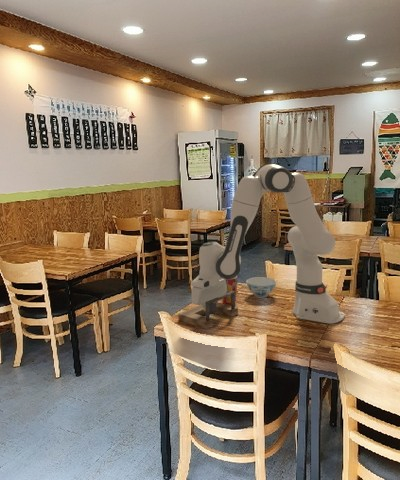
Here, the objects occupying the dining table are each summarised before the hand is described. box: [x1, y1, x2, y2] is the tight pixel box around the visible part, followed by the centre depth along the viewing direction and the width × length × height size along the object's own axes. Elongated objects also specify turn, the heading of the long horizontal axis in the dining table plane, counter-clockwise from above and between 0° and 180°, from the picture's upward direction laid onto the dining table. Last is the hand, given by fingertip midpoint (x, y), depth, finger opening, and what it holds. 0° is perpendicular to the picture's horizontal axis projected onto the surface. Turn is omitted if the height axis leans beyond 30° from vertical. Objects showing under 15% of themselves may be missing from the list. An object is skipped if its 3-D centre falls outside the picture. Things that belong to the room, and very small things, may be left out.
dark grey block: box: [205, 302, 217, 315], centre depth 180 cm, size 5×5×6 cm
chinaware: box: [245, 276, 277, 299], centre depth 208 cm, size 15×15×8 cm
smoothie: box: [221, 275, 238, 306], centre depth 197 cm, size 8×8×20 cm
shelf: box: [178, 291, 239, 330], centre depth 180 cm, size 16×22×11 cm
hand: (210, 308), depth 180 cm, fingers closed on dark grey block, 5 cm apart
